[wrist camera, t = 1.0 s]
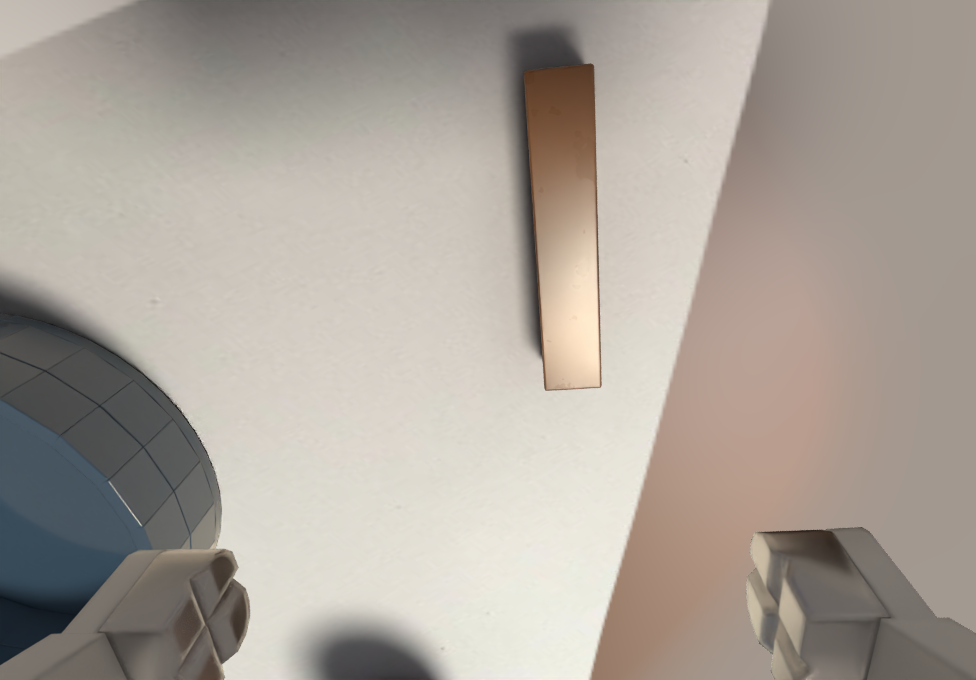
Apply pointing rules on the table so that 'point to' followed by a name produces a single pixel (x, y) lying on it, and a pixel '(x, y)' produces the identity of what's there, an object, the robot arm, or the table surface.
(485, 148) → the table surface
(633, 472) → the table surface
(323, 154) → the table surface
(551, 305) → the stick
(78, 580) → the bowl
